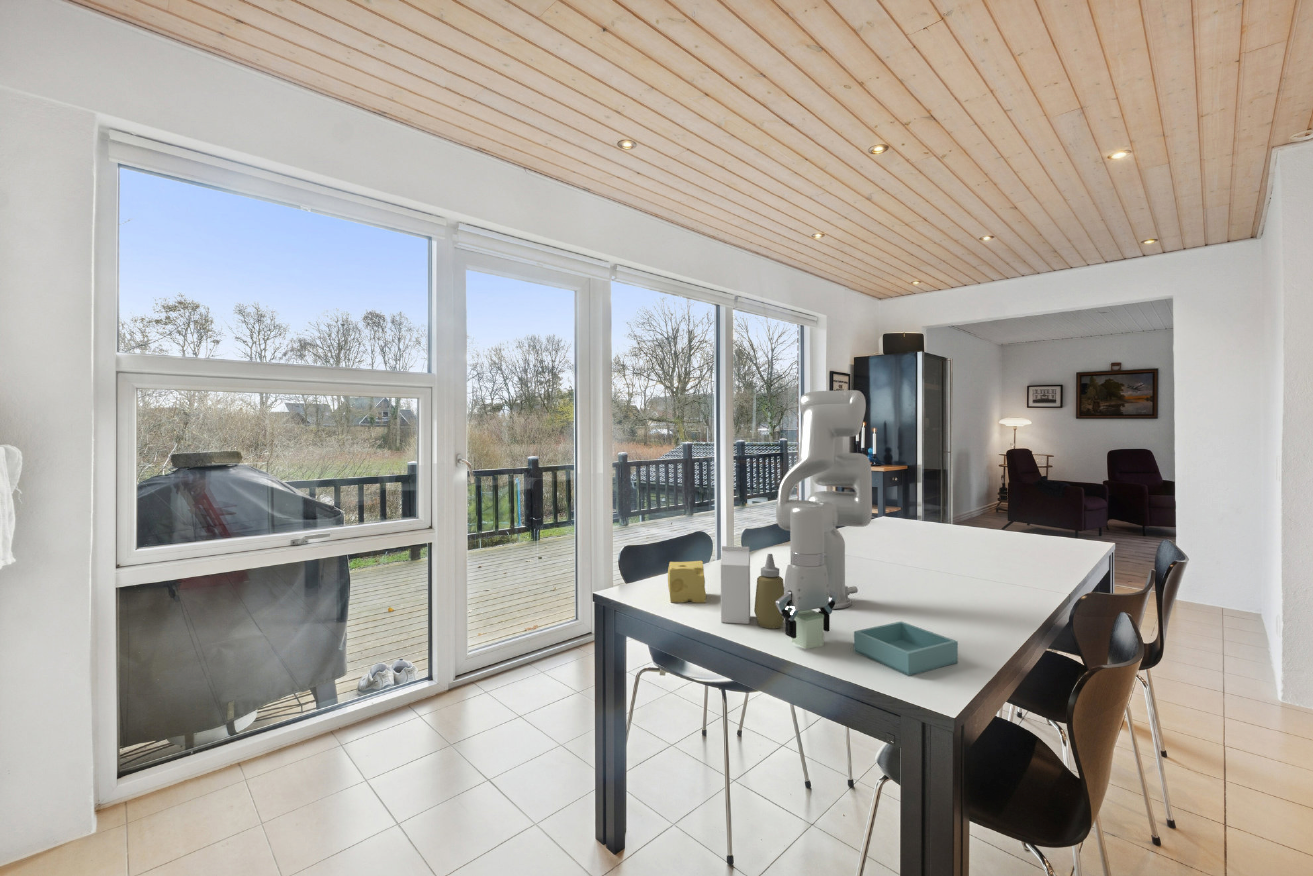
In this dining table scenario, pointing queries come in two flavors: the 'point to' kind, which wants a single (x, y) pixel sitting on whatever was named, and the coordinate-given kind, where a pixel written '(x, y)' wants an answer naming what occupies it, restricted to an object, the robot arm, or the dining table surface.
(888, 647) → the bin
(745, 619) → the milk carton
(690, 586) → the cheese
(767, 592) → the squeeze bottle
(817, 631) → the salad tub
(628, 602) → the dining table surface
